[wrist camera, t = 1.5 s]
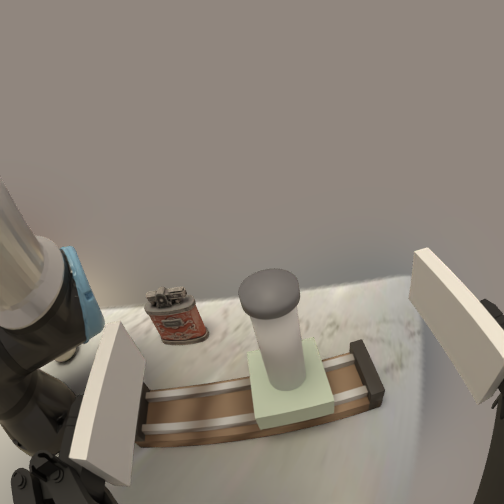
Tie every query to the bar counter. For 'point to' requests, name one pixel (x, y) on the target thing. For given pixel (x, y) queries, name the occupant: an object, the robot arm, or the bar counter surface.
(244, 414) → the rail track
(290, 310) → the carriage
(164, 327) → the lighter
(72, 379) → the bar counter surface
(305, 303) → the bar counter surface
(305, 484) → the bar counter surface
